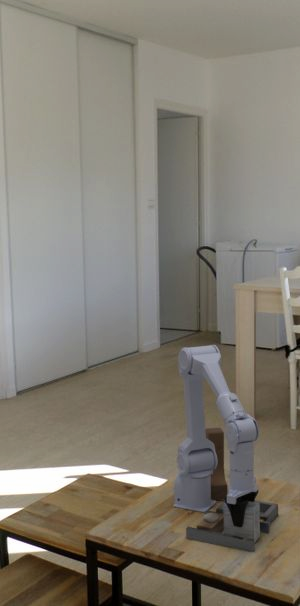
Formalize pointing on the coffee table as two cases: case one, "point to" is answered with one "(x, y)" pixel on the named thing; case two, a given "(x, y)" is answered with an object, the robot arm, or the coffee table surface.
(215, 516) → the brown block grey dome
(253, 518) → the medicine box
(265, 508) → the tray
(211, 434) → the wooden block
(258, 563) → the coffee table surface
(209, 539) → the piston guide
